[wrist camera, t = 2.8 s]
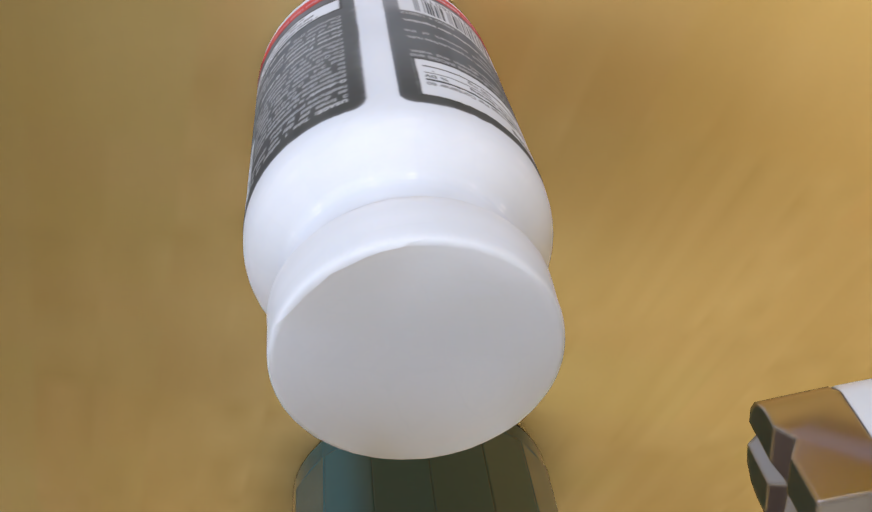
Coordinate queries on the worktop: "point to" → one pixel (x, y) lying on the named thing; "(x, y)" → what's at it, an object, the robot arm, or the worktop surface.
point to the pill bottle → (397, 232)
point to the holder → (428, 480)
